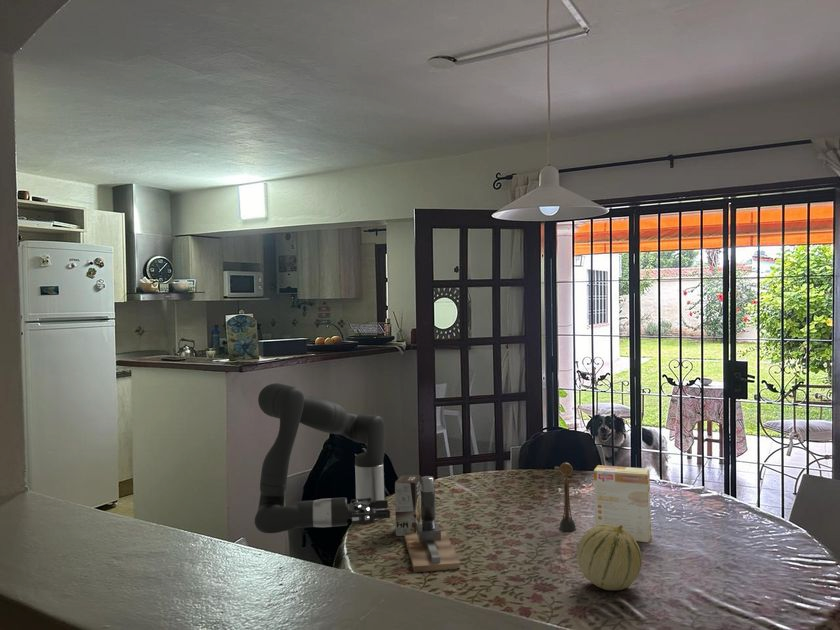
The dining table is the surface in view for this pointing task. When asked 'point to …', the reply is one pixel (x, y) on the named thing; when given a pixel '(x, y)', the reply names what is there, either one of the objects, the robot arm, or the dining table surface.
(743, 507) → the dining table surface
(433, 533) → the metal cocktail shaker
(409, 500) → the coffee box
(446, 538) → the press bench
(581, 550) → the cantaloupe
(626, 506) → the coffeecake box
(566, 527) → the wooden tabletop sculpture
